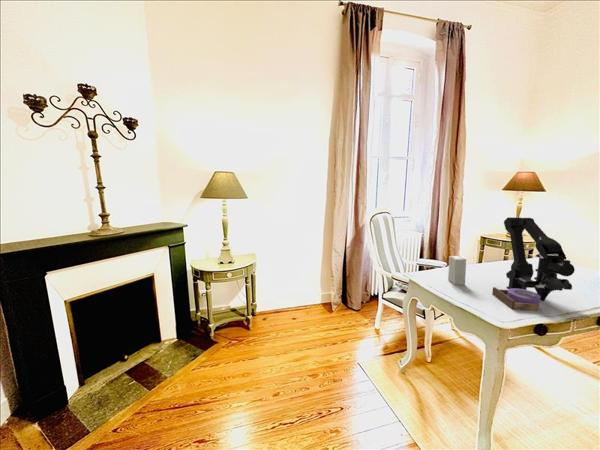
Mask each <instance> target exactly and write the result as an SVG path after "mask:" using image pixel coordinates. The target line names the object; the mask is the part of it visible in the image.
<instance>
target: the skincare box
mask: <svg viewBox="0 0 600 450" xmlns="http://www.w3.org/2000/svg"><path fill="white" fill-rule="evenodd" d="M466 268H467V258H464V257H462V256H460V255H449V256H448V275H447V281H449V282H451V284H453V285H456V286H457V285H458V286H465V285H466V270H467V269H466Z"/></svg>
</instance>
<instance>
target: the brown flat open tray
mask: <svg viewBox="0 0 600 450" xmlns="http://www.w3.org/2000/svg"><path fill="white" fill-rule="evenodd" d="M508 290H509V289H500V288H499V289H498V288H497V287H494V286H492V293H491V294H492V296H494V297H495V298H497V300H499V301H500V302H501V303H502V304H504V305H505V306H507V308H510V310H515V309H520V310H519V311H530V310H532V311H533V312H538V311H539V309H540V305H539V304H531V303H516V302H515V301H514V300H513V299H512V298H510V297H509V296H507V295H508Z"/></svg>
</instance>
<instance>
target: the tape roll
mask: <svg viewBox="0 0 600 450" xmlns="http://www.w3.org/2000/svg"><path fill="white" fill-rule="evenodd" d="M507 290H508V295H507V296H509V297H510V298H512V299H513V300H514V301H515V302H516V303H531V304H539V306H541V305H540V304H541V301H540V298H541V296H540V295H539V294H537V292H536V291H535V292H534V291H532V290H529V289H528V290H527V289H526V290H524V289H516V288H513V289H507Z"/></svg>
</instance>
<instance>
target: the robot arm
mask: <svg viewBox="0 0 600 450" xmlns="http://www.w3.org/2000/svg"><path fill="white" fill-rule="evenodd" d="M503 224H504V228H505V231H507V233H508V234H509V236H510V241H511V249H512V256H513V262H512V263H511V265H510V270H509V271H507V272H506V278H507V279H509V280H508V286H506V288H507V290H509V289H513V288H516V289H524V290H527V288H528V289H534V290H535V293H537V294H539V295H540V296H541V298H540V302H544V301H545V300H546V299H547V297H548V296H549V294H551V292H554V291H559V292H560V291H561V292H562V291H563V290H569V291H571V290H572V289H573V285H572V283H571V282H570V280H569V279H567V278H568V277H570V276H572V275H573V274H574V273H575V270H576V269H575V266H574V265H573V264H572V263H571V260H569V259H567V257H566V254H565V251H564V250H563V248H562V245H561V243H559V242H558V241H557V240H555V239H554V238H551V237H549V236H548V235H546V233H545V232H544V231H543V230H542V229H541V228H540V227H539V225H538V224H537V223H536V222H535V219H534V218H533V217H532V218H531V217H506V218H505V220H504V221H503ZM524 231H526V232H527V233H528V235H529V236H530V237H531V238H532V239H533V241H534V242H535V244H534V247H535V248H536V250H537V252H538V254H535V257H536V258H538V265H537V268H535V269H534V270H533V263H530V262H528V261H527V258H526V249H525V243H524V237H523V232H524ZM534 271H535V272H536V277H534V279H533V280H532V278H533V276H534ZM558 275H561V276H563V277H567V278H566V279H565V278H558Z"/></svg>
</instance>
